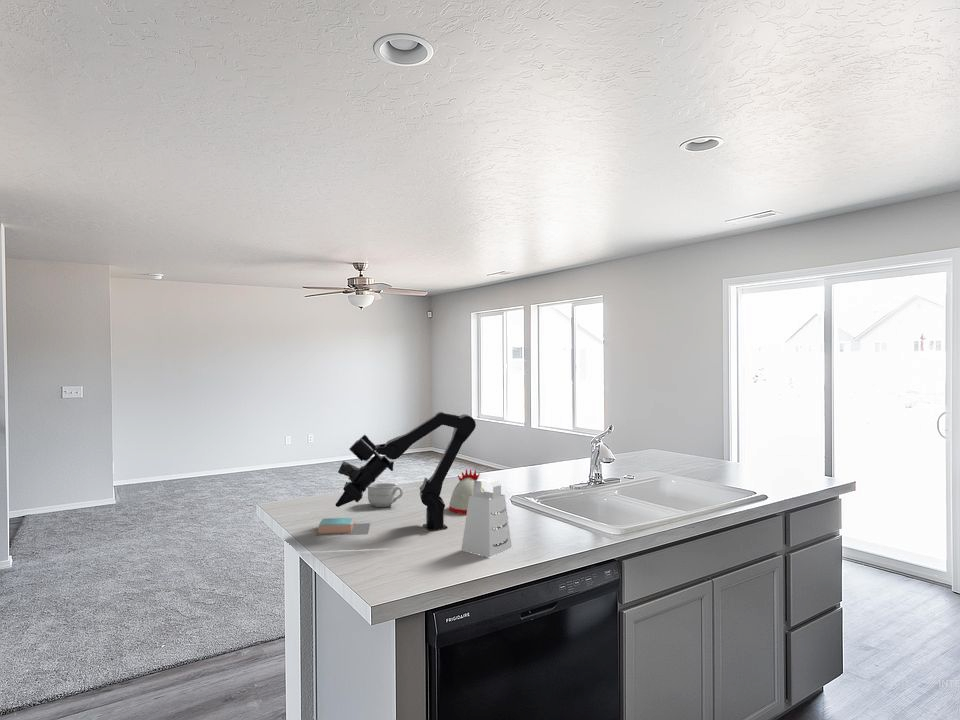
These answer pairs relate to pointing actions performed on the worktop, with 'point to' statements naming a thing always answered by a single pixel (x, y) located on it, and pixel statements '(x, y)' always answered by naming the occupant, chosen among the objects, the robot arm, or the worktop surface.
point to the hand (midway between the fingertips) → (336, 505)
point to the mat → (356, 530)
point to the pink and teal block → (335, 525)
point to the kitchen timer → (463, 493)
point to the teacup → (383, 494)
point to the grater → (486, 521)
